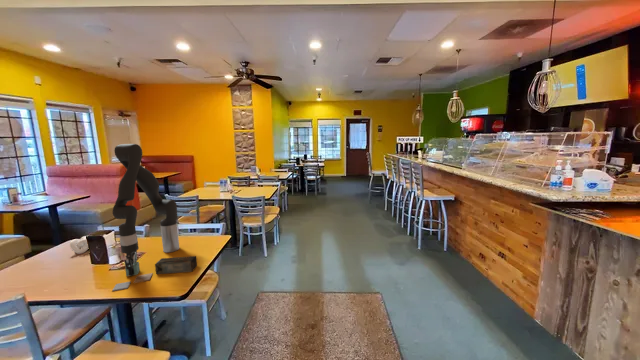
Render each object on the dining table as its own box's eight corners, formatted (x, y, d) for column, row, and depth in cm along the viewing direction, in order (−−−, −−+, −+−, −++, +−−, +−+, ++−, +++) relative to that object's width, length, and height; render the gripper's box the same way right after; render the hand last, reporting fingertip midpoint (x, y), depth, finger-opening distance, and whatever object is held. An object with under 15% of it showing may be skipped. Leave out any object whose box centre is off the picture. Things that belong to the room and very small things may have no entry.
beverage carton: (162, 267, 151) (161, 256, 150) (198, 265, 153) (197, 254, 152) (155, 274, 143) (154, 263, 142) (192, 272, 145) (191, 261, 144)
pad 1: (116, 285, 133) (116, 283, 133) (130, 282, 135) (130, 281, 135) (112, 291, 128) (112, 290, 128) (127, 288, 130) (127, 287, 130)
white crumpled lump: (80, 256, 168) (78, 242, 167) (64, 255, 170) (62, 241, 169) (98, 248, 179) (96, 235, 178) (83, 248, 181) (80, 235, 180)
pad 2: (137, 276, 141) (137, 275, 141) (152, 274, 143) (152, 273, 143) (133, 283, 134) (133, 282, 134) (149, 280, 137) (149, 279, 137)
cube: (129, 272, 146) (127, 263, 146) (139, 270, 148) (138, 261, 147) (126, 276, 142) (125, 267, 141) (137, 274, 144) (136, 265, 143)
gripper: (124, 238, 147) (128, 268, 150) (116, 248, 134) (120, 280, 137) (140, 236, 150) (144, 265, 153) (133, 246, 137) (138, 277, 140)
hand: (133, 272), depth 145 cm, fingers closed on cube, 5 cm apart
